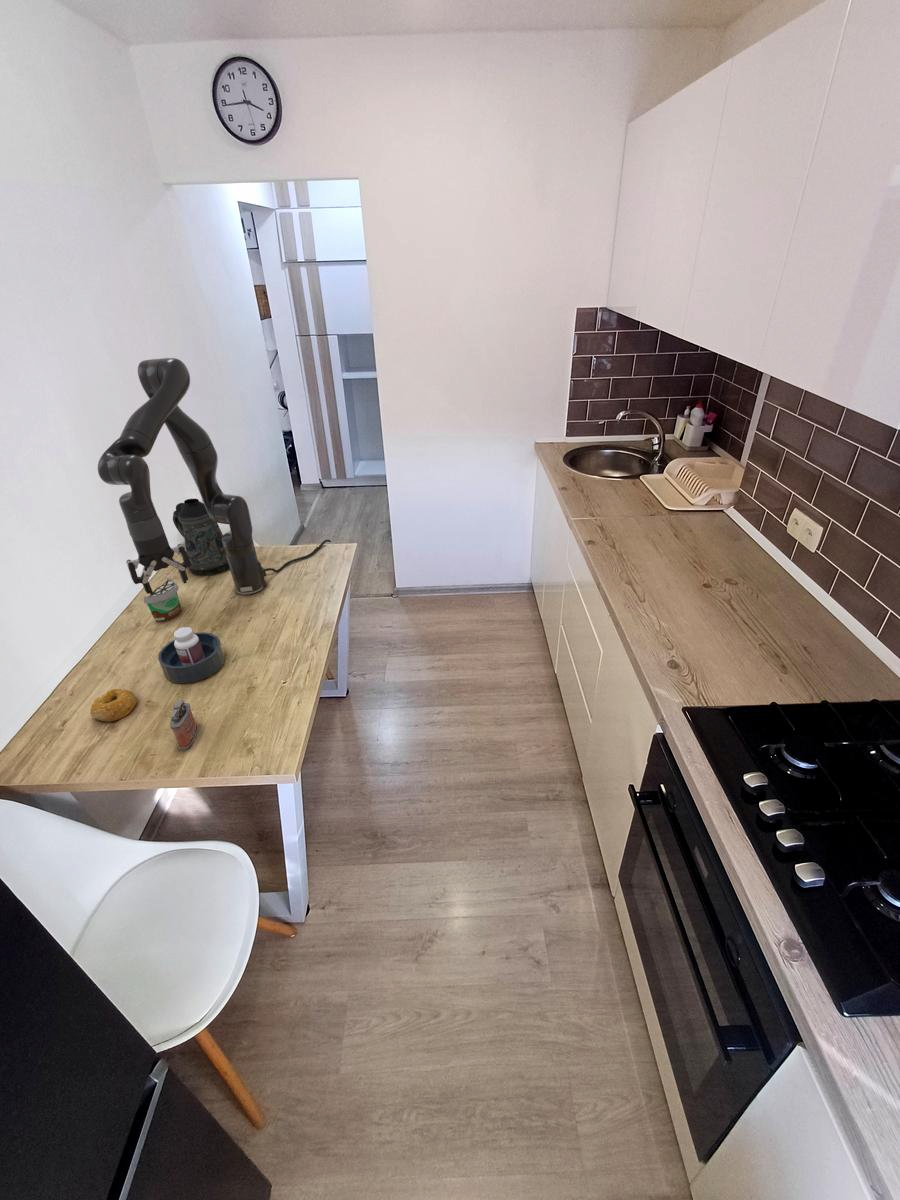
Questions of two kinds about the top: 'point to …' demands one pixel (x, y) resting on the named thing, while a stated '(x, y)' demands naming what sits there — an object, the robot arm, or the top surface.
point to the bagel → (113, 705)
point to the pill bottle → (188, 646)
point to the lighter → (183, 725)
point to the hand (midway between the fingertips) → (168, 587)
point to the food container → (164, 602)
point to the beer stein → (200, 538)
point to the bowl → (197, 670)
